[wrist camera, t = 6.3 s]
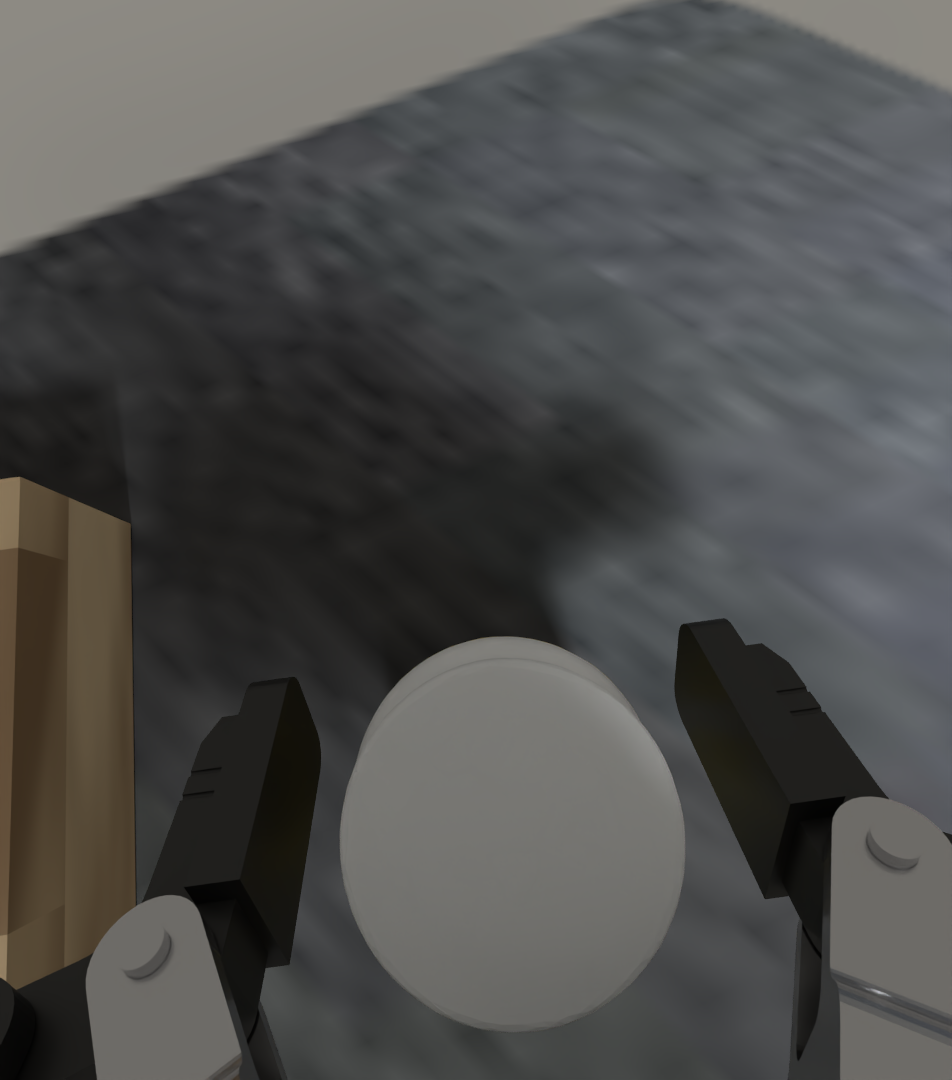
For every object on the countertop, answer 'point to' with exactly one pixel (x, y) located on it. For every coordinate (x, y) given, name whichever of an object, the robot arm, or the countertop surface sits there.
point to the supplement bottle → (511, 836)
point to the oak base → (63, 729)
